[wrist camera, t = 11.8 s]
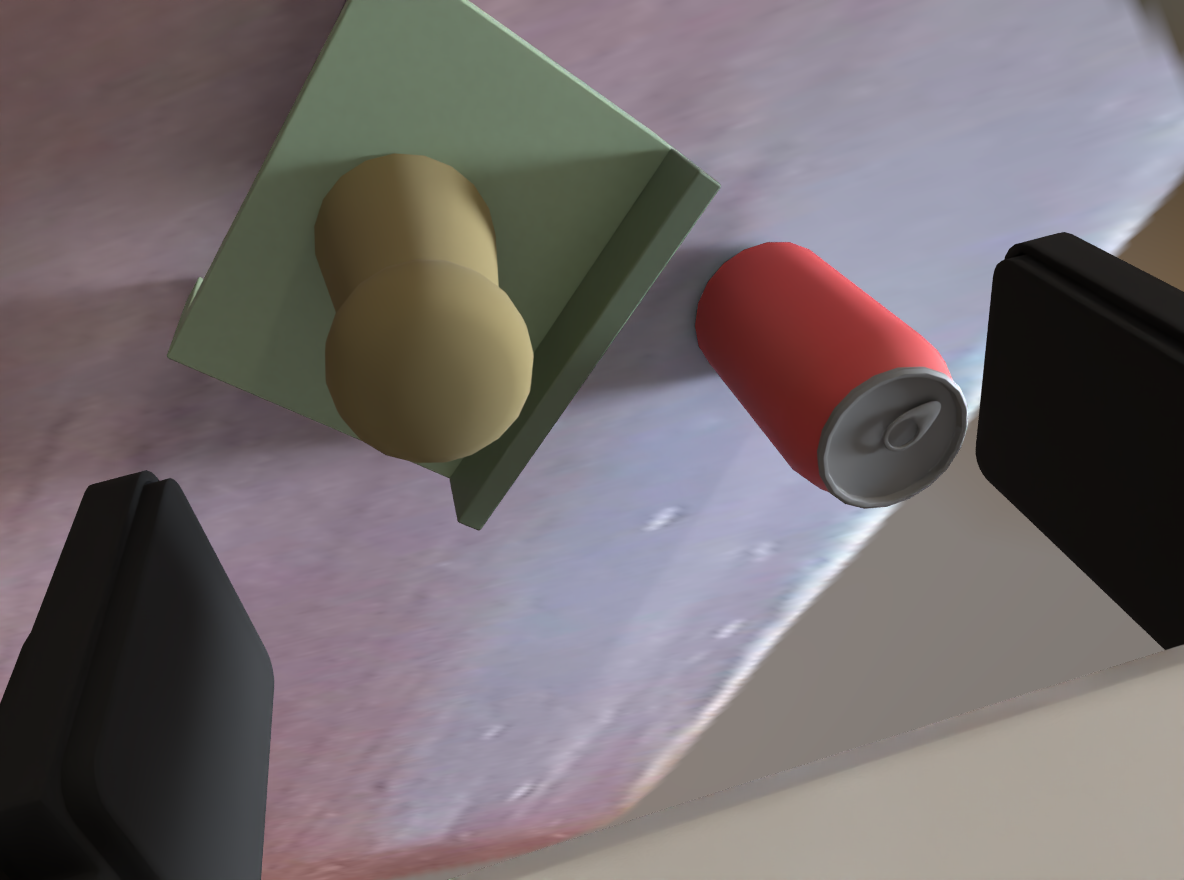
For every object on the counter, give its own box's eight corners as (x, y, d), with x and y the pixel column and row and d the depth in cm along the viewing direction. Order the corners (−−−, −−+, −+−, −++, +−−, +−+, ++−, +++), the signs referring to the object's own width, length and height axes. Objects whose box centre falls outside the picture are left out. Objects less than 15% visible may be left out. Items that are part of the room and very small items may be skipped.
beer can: (852, 305, 42) (1013, 435, 32) (743, 399, 44) (865, 552, 34) (778, 205, 39) (931, 316, 29) (661, 309, 40) (770, 450, 30)
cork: (301, 311, 31) (288, 488, 22) (327, 133, 29) (324, 250, 19) (474, 339, 33) (527, 512, 24) (513, 176, 31) (590, 300, 21)
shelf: (186, 302, 35) (150, 399, 28) (374, -67, 30) (385, -53, 24) (456, 426, 41) (480, 532, 34) (651, 130, 36) (723, 185, 29)
